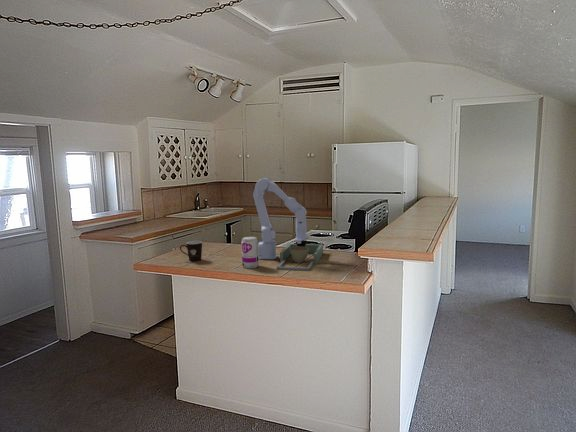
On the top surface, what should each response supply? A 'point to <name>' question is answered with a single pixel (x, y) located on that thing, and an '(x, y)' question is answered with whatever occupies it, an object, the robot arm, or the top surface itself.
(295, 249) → the flower pot
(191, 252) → the coffee mug
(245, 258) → the supplement can
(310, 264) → the edging
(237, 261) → the top surface
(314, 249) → the cold frame
